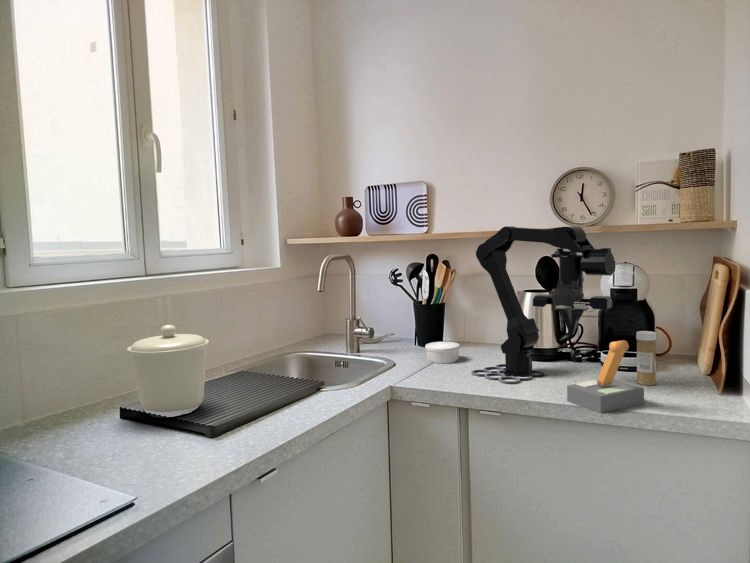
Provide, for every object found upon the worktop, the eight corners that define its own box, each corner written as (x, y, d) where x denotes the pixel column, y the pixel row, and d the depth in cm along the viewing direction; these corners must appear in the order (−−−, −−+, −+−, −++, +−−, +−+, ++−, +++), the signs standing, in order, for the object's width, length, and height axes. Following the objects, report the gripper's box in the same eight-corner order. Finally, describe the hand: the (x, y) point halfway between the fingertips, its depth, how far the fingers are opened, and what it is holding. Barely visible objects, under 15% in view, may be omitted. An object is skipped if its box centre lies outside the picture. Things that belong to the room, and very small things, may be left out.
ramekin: (432, 366, 162) (432, 349, 161) (421, 358, 173) (420, 343, 172) (465, 363, 164) (465, 346, 164) (452, 355, 175) (452, 340, 175)
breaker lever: (594, 382, 120) (611, 339, 115) (604, 380, 122) (622, 338, 116) (601, 389, 118) (619, 345, 113) (612, 387, 120) (630, 344, 114)
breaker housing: (567, 400, 122) (567, 384, 122) (608, 393, 127) (608, 377, 127) (600, 413, 113) (600, 395, 113) (643, 404, 118) (643, 387, 117)
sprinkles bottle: (659, 383, 134) (659, 331, 133) (650, 386, 131) (650, 334, 130) (642, 380, 137) (642, 329, 136) (632, 383, 135) (632, 331, 134)
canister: (137, 431, 112) (131, 334, 110) (127, 410, 127) (121, 324, 126) (221, 414, 122) (216, 324, 120) (202, 396, 137) (197, 317, 135)
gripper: (524, 276, 134) (525, 336, 135) (600, 277, 123) (601, 342, 124) (539, 273, 143) (540, 330, 144) (612, 274, 132) (612, 335, 133)
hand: (571, 334), depth 136 cm, fingers closed
